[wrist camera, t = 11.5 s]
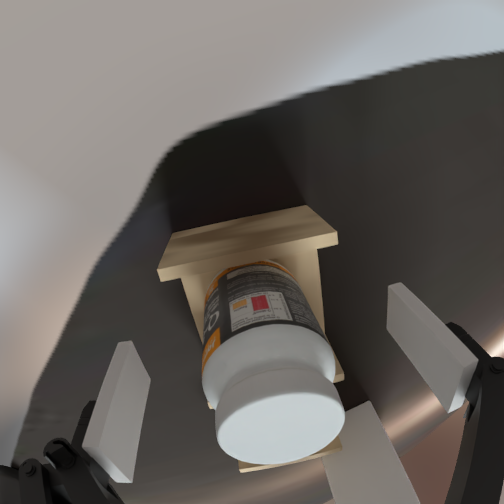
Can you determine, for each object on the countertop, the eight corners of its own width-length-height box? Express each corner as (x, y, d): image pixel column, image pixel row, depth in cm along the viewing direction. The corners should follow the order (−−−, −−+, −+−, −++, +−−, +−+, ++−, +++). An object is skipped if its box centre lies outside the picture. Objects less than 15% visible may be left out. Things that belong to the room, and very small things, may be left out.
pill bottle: (192, 268, 18) (173, 401, 9) (290, 243, 18) (359, 357, 9) (219, 345, 20) (225, 480, 11) (305, 324, 20) (358, 448, 11)
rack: (236, 424, 25) (240, 472, 20) (172, 233, 18) (156, 269, 13) (325, 405, 25) (342, 450, 20) (306, 204, 18) (336, 231, 14)
